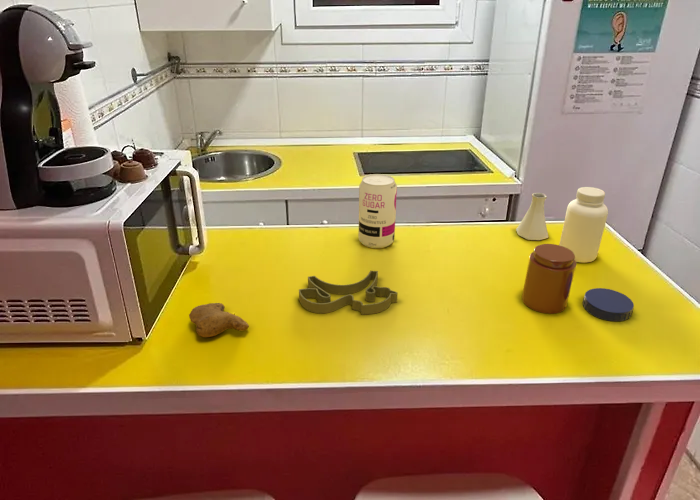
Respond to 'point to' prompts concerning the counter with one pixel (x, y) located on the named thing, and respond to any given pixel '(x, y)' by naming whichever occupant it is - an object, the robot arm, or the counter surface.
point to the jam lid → (608, 304)
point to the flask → (534, 220)
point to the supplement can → (377, 210)
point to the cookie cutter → (325, 305)
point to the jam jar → (549, 278)
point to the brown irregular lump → (215, 320)
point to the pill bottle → (585, 224)
